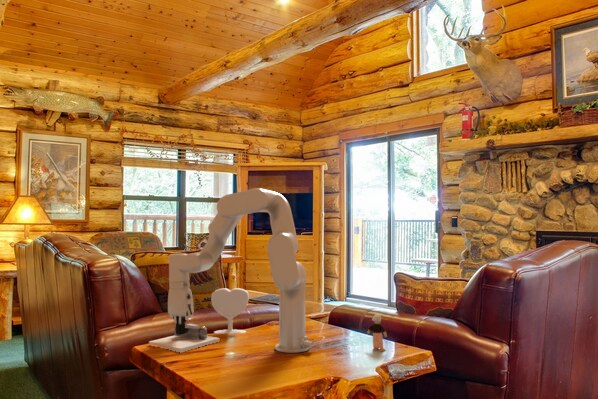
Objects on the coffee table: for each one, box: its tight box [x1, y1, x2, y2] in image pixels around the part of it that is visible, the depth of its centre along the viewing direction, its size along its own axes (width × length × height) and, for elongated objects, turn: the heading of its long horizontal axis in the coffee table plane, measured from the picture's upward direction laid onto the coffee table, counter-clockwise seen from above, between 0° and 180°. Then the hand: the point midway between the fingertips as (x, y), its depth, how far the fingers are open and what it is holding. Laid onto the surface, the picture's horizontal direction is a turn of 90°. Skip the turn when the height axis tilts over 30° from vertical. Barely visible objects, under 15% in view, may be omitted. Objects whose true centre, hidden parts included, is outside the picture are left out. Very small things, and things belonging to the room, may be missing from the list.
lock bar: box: [174, 326, 208, 339], centre depth 189 cm, size 14×3×4 cm, turn 69°
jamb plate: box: [148, 323, 221, 354], centre depth 186 cm, size 18×19×6 cm
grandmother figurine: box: [366, 313, 388, 353], centre depth 175 cm, size 8×4×13 cm, turn 65°
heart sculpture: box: [210, 287, 250, 334], centre depth 206 cm, size 16×5×18 cm, turn 91°
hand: (180, 334), depth 187 cm, fingers closed
